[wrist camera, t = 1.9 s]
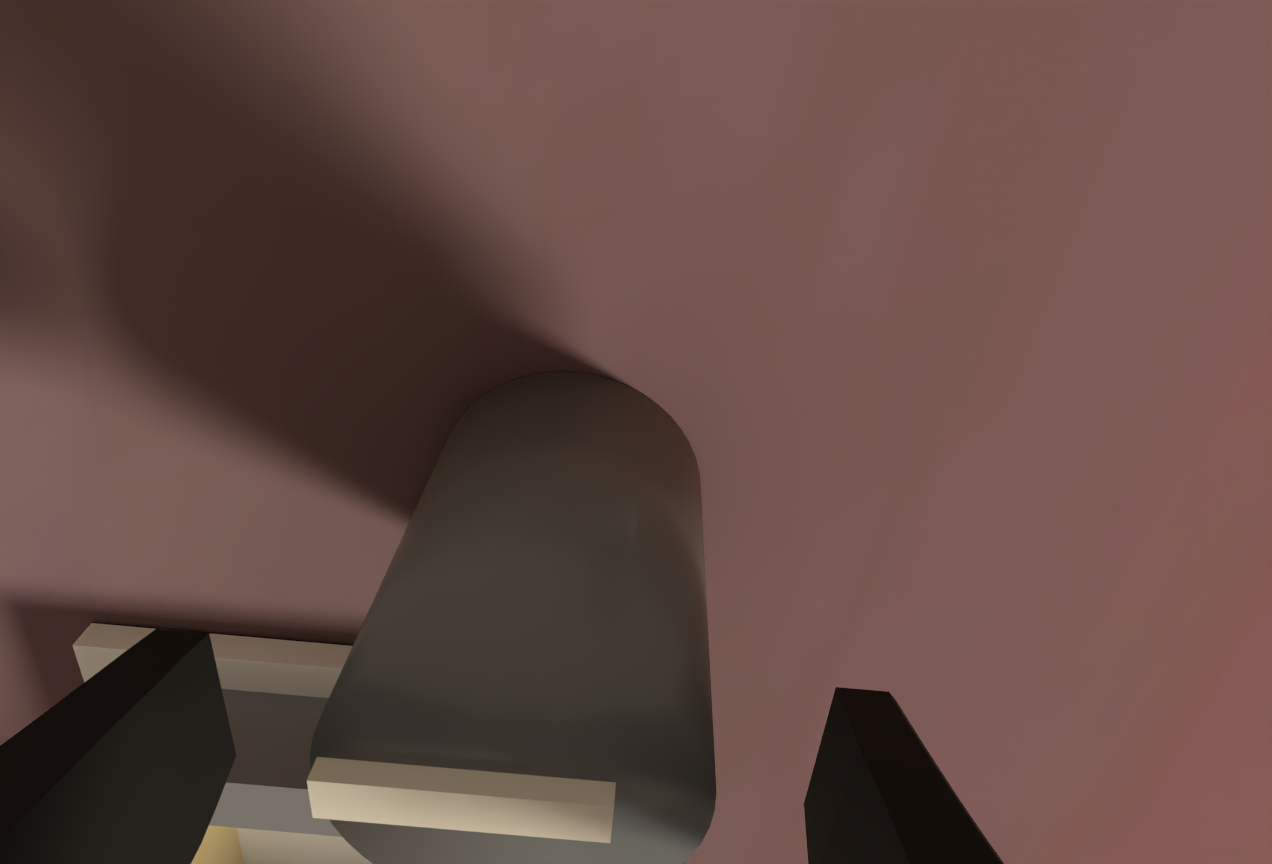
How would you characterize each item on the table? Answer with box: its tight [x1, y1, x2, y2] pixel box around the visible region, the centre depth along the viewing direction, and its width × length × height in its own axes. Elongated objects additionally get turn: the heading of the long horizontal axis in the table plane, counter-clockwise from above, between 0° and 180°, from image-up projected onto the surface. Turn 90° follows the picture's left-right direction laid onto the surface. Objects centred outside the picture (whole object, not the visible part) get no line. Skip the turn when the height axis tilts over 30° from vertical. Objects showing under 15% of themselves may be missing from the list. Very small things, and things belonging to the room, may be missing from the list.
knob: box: [307, 371, 716, 864], centre depth 12 cm, size 4×4×6 cm
